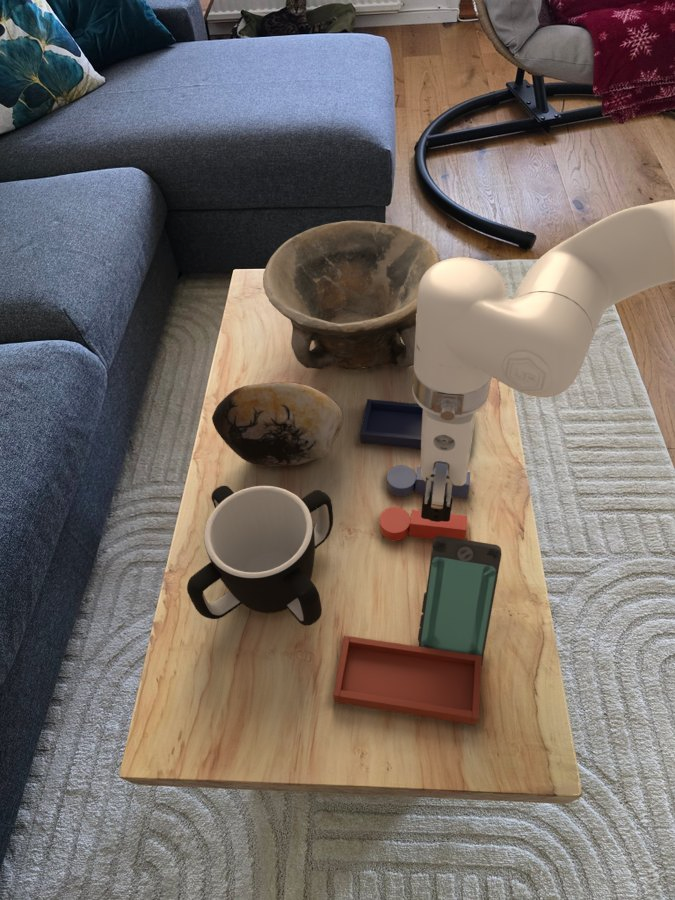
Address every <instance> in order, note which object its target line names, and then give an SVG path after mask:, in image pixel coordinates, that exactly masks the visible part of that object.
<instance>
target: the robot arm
mask: <svg viewBox="0 0 675 900" xmlns="http://www.w3.org/2000/svg"><path fill="white" fill-rule="evenodd" d="M673 282H675V199H667V200H661V201H655V202H652V203H646V204H641V205H637V206H636V205H635V206H631V207H629V208H625V209H622V210H620V211H617V212H615V213H612V214H610V215H608V216H606V217H604V218H601V220H599V221H597V222H594V223H593V224H591V225H589V226H588V227H586V228H584V229H583V230H581V231H579V232H577V233H575V234H574V235H572V236H570V237H568V238H566V239H565V240H563V241H561V242H559V244H556V245H555V246H554V247H551V249H549V250H548V251H547V252H546V253H544V254H543V255H541V256H540V257H539V258H538V259H537V260H536V261H535V262H534V264H532V265H531V266H530V268H529V269H528V270H527V272H526V274H525V275H524V277H523V279H522V281H521V282H520V284H519V286H518V288H517V289H516V291H515V293H514V295H513V297H512V298H509V297H508V296H507V286H506V283H505V279H504V277H503V275H501V273H500V272H499V271H498V270H497V269H496V268H495V266H492V265H491V264H489V263H487V262H486V261H484V260H480V259H477V258H474V257H473V258H472V257H466V256H463V257H451V258H447V259H443V260H440V262H438V263H436V264H434V265H433V266H432V267H430V268H429V269H428V270H427V271H426V272H425V274H424V275H423V277H422V279H421V281H420V284H419V289H418V298H417V314H416V333H415V351H414V365H413V366H412V367H413V369H412V388H411V391H412V396H413V398H414V401H415V402H416V404H418V405H419V406H420V407H421V408H423V414H422V433H421V449H420V467H421V477H422V479H423V480H424V481H425V482H426V480H427V483H426V493H425V494H423V493H422V501H421V511H422V512H421V518H423V519H429V520H430V521H435V522H440V521H445V522H448V521H449V520H450V515H451V514H452V507H453V500H454V497H451V492H452V484H454V485H456V486H462V485H464V484H465V483H466V479H467V472H469V471H468V470H469V463H470V457H471V450H472V444H473V437H474V431H475V423H476V417H477V416H476V415H477V413H478V412H479V411H480V410H481V409H482V408H484V406H485V405H486V403H487V402H488V398H489V394H490V388H491V384H492V383H491V382H492V378H493V379H495V380H496V381H498V382H500V383H502V384H503V385H505V386H507V387H509V388H511V389H513V390H514V391H516V392H519V393H522V394H523V395H527V396H530V397H535V398H552V397H556V396H558V395H561V394H562V393H564V392H566V391H567V390H568V389H569V388H570V387H571V386H572V385H573V384H574V382H575V381H576V380H577V377H578V375H580V371H581V369H582V366H583V364H584V363H585V362H584V361H585V360H586V357H587V355H588V351H589V349H590V347H591V343H592V342H593V340H594V339H593V338H594V336H595V334H596V332H597V329H598V327H599V324H600V322H601V319H602V317H603V315H604V312H605V310H607V309H609V308H610V307H612V306H614V305H616V304H618V303H621V302H622V301H624V300H626V299H628V298H631V297H633V296H635V295H637V294H639V293H641V292H644V291H646V290H649V289H652V288H654V287H657V286H660V285H664V284H668V283H669V284H670V283H673ZM434 468H435V474H433V470H434ZM447 470H448V475H449V476H447ZM431 482H434V485H433V493H432V492H431V494H430V491H431ZM446 484H447V492H446V494H445V485H446Z"/></svg>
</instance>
